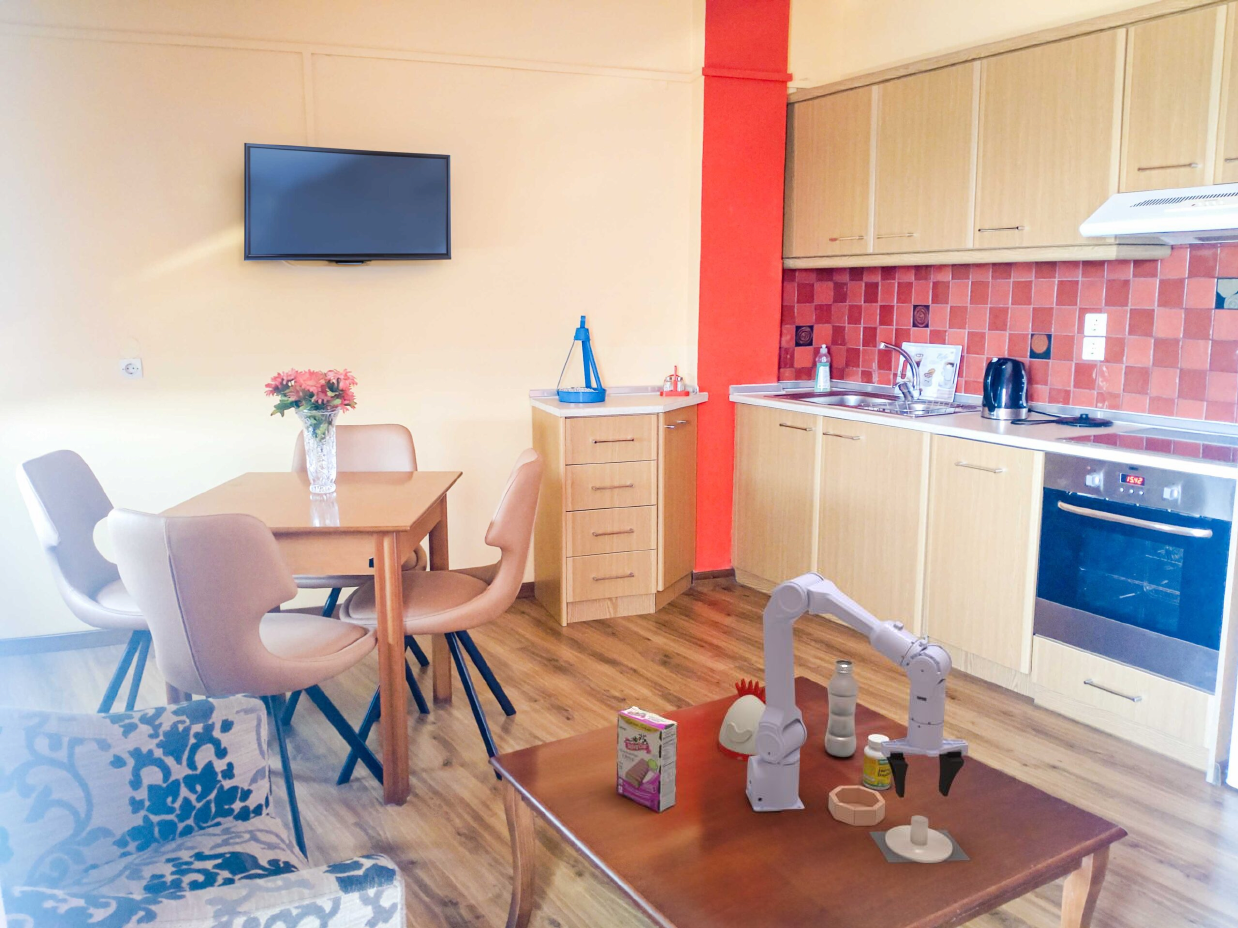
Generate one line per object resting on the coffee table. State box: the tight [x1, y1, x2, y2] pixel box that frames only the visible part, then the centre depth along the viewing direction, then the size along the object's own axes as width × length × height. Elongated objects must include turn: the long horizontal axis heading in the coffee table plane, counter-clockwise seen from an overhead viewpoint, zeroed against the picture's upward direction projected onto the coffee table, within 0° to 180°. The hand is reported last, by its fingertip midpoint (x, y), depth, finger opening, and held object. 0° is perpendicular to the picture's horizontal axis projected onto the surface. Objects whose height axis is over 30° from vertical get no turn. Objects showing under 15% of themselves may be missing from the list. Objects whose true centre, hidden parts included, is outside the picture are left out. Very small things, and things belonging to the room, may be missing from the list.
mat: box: [868, 829, 971, 864], centre depth 167 cm, size 14×10×1 cm
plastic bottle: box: [824, 659, 860, 758], centre depth 203 cm, size 6×7×20 cm
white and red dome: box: [718, 677, 766, 763], centre depth 206 cm, size 14×14×15 cm
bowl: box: [828, 785, 886, 827], centre depth 178 cm, size 9×9×4 cm
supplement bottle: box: [862, 733, 892, 791], centre depth 190 cm, size 5×5×10 cm
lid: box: [885, 814, 952, 864], centre depth 166 cm, size 11×11×5 cm
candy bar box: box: [616, 705, 678, 813], centre depth 182 cm, size 11×5×16 cm, turn 47°
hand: (921, 794), depth 165 cm, fingers open, 7 cm apart
